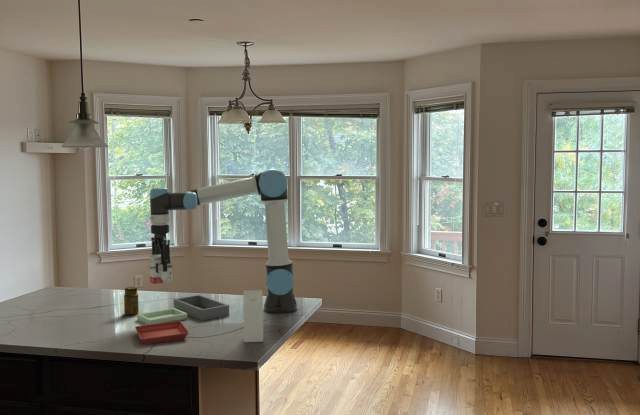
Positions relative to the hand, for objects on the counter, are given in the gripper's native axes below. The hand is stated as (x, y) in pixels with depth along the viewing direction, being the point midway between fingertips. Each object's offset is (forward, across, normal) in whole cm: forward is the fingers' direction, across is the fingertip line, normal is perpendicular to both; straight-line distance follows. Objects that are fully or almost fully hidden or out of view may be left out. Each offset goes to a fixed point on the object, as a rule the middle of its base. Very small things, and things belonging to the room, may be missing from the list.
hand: (161, 277), depth 255 cm
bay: (+18, -1, +19) cm, 26 cm away
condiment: (+19, -17, -7) cm, 26 cm away
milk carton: (+18, +50, +14) cm, 55 cm away
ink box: (+2, 0, 0) cm, 2 cm away
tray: (+18, 0, 0) cm, 18 cm away
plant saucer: (+19, +23, -11) cm, 32 cm away
